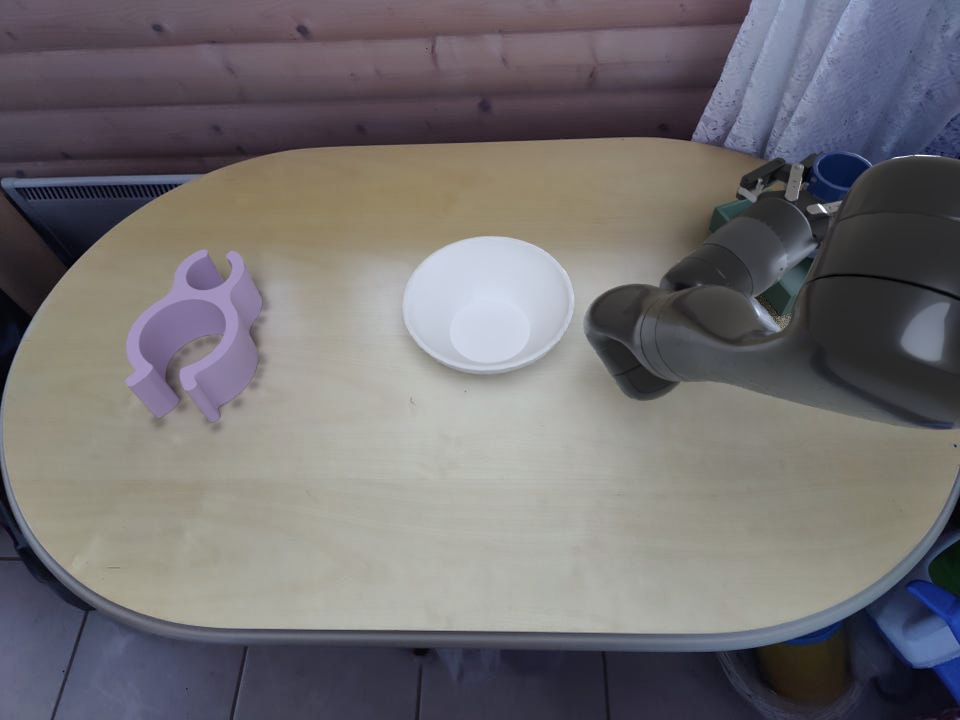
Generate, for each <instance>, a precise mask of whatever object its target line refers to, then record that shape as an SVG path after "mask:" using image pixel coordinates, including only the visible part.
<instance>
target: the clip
mask: <svg viewBox="0 0 960 720" xmlns="http://www.w3.org/2000/svg"><path fill="white" fill-rule="evenodd" d="M225 258H226V260H227V262H228V264H229V265H230V268H231V273H230V275H229V277H228V278H227V279H226V280H225V281H224V278H223V276H222V275H221V273H220V271H219V269H218V268H217V266H216V264H215V262H214V260H213V259H212V257H211V255H210V253H209V251H208V249H205V248H203V249H200V250H198V251H196V252H194V253H192V254H190V255H189V256H187V257H186V258H185V259H183V261H182V262H181V263H180V264H179V265H178V266H177V268H176V270H175V273H174V276H173V285H172V287H171V289H170V291H169V292H168V293H167V294H166V295H165V296H164V297H162V298H161V299H160V300H158V301H156V302H154V303H152V304H151V305H150V306H149V307H148V308H147V309H145V310H144V311H143V312H142V313H141V314H140V315H139V316H138V318H136V319H135V321H134V322H133V324H132V325H131V328H130V330H129V332H128V334H127V338H126V342H125V352H126V357H127V359H128V362H129V363H130V365H131V366H132V367H133V369H134V372H133V373H132V374H130V375H129V376H128V377H127V378H126V379H125V380H124V384H125V385H126V386H127V387H128V388H129V390H131V391H132V393H133V394H134V395H135V396H136V397H137V399H139V401H140V402H141V403H142V404H143V405H144V406H145V407H146V408H147V409H148V411H149V412H151V414H152V415H153V416H154V417H155V418H156V419H161V418H163V417H164V416H166V415H167V414H168V413H169V412H171V411H173V409H175V407H176V406H177V405H178V404H179V402H180V398H179V396H178V395H177V393H175V391H174V390H173V389H172V387H170V385H169V384H168V382H167V379H166V378H167V377H166V375H167V369H168V366H169V363H170V362H171V360H172V359H173V358H174V356H175V354H176V353H177V352H178V351H179V350H181V349H182V348H183V347H184V346H186V345H187V344H188V343H191V342H192V341H194V340H197V339H199V338H202V337H205V336H214V335H216V336H217V335H218V336H219V335H221V336H222V338H221V340H220V342H219V343H218V344H217V346H216V347H215V348H214V349H213V350H212V351H211V352H210V353H209V354H207V355H206V356H205V357H203V358H202V359H200V360H199V361H196V362H194V363H192V364H190V365H187V366H183V367H182V368H180V370H179V380H180V383H181V385H182V388H183V390H184V391H185V392H186V394H187V396H189V397H190V399H191V400H192V401H193V403H194V404H195V405H196V407H197V408H198V409H199V410H200V412H201V413H202V414H203V416H204V417H205V418H206V419H207V420H208V422H210V423H215V422H217V421H219V420H220V419H221V413H220V411H219V408H220V407H221V406H222V405H224V404H227V403H228V402H230V401H232V400H233V399H234V398H236V397H238V395H240V393H242V392H243V391H244V390H245V389H246V388H247V386H248V385H249V384H250V382H251V381H252V379H253V377H254V375H255V373H256V370H257V367H258V362H259V353H258V348H257V346H256V344H255V342H254V340H253V338H252V336H251V334H250V332H251V331H250V330H251V327H252V325H253V323H254V322H255V321H256V320H257V318H258V317H259V315H260V313H261V310H262V308H263V298H262V295H261V294H260V292H259V290H258V288H257V286H256V283H255V282H254V279H253V278H252V277H253V276H252V275H251V273H250V271H249V269H248V267H247V265H246V263H245V261H244V260H243V257H242V255H241V254H240V253H238V252H237V251H236V250H230V251H229V252H228V253H227V254H226V255H225Z"/></svg>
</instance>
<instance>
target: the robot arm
mask: <svg viewBox="0 0 960 720" xmlns="http://www.w3.org/2000/svg"><path fill="white" fill-rule="evenodd" d="M823 153H826V151H825V152H824V151H822V150H821V151H820V152H819V153H816V152H814V153H810V154H809V155H807V156H806V157H804V158H803V159H802V160H801V161H799V162H795V163H793V164H789V163H787V161H786V159H784V158H783V157H776V158H774V159H772V160H770V161H768V162H766V163H764V164H763V165H761V166H759V167H758V168H756V169H754V170H752V171H750V172H748V173H746V174H744V175H742V177H741V179H740V182H739V184H738V187H737V190H736V193H735V198H736V200H738V199H739V200H746V199H749V200H750V201H751V202H753V204H751V205H750V206H749V207H747V208H746V209H745V210H743V211H742V212H741V213H739V214H738V215H737V216H735V217H734V218H733V219H731V220H730V221H729V222H727V223H726V224H725V225H723V226H722V227H721V228H719V229H718V230H717V231H715V232H714V233H712V234H710V236H708V237H707V238H706V240H704V241H703V242H702V243H701V245H700V246H698V247H697V248H696V249H694V250H692V252H690V253H689V254H688V255H686V256H685V257H683V259H681V260H680V261H678V262H677V263H676V264H674V265H673V266H671V267H670V268H669V269H668V270H667V271H666V272H665V273H664V274H663V275H662V277H661V279H660V282H659V285H658V286H656V285H653V284H647V283H628V284H623V285H619V286H615V287H613V288H612V287H611V288H610V289H607V290H606V291H604V292H603V293H601V294H600V295H598V296H597V297H596V298H595V299H594V300H593V301H592V302H591V303H590V305H588V307H587V309H586V311H585V313H584V316H583V322H582V326H583V331H584V335H585V337H586V340H587V341H588V343H589V345H590V346H591V348H592V349H593V350H594V351H595V354H596V355H597V356H598V358H599V359H600V361H601V362H602V364H603V365H604V368H606V370H607V372H608V373H609V374H610V376H611V378H612V379H613V380H614V382H615V384H616V385H617V387H618V389H619V390H620V391H621V392H622V393H623V394H624V395H625V396H626V397H627V398H629V399H631V400H634V401H641V402H648V401H653V400H654V401H655V400H657V399H661V398H662V397H664V396H666V395H668V394H669V393H671V392H672V391H674V390H675V389H676V388H677V387H678V386H679V385H680V384H681V383H717V384H724V385H729V386H733V387H737V388H741V389H744V390H748V391H750V392H754V393H757V394H761V395H766V396H769V397H773V398H776V399H779V400H784V401H788V402H791V403H796V404H800V405H804V406H807V407H808V406H809V407H813V408H815V409H816V408H817V409H821V410H825V411H828V412H832V413H837V414H841V415H845V416H850V417H852V418H853V417H854V418H857V419H861V420H866V421H870V422H875V423H881V424H886V425H891V426H896V427H902V428H909V429H917V430H930V431H956V430H960V159H958V158H952V157H947V156H942V155H925V154H914V155H905V156H897V157H892V158H889V159H887V160H883V161H881V162H878V163H876V164H874V165H872V167H870V168H869V169H867V170H866V171H864V172H863V173H862V174H861V175H860V176H859V177H858V178H857V179H856V180H855V182H854V183H853V184H852V186H851V187H850V189H849V190H848V192H847V193H846V195H845V197H844V199H843V200H842V201H837V202H832V203H826V202H824V201H822V200H820V199H817V198H815V197H813V196H812V195H811V194H810V193H809V192H807V191H805V190H804V189H802V188H801V185H804V183H805V181H806V178H807V176H808V174H809V172H810V170H811V167H812V165H813V163H814V161H815V159H816V158H817V157H818V156H820V155H821V154H823ZM778 182H782V183H784V184H783V188H782V189H780V190H773V191H767V192H763V193H762V191H765V190H766V189H767V188H769V187H771V186H773V185H775V184H776V183H778ZM800 188H801V189H802V190H801V189H800ZM815 250H818V252H817V254H816V256H815V259H814V261H813V263H812V265H811V267H810V269H809V272H808V274H807V276H806V278H805V280H804V282H803V285H802V287H801V289H800V291H799V293H798V295H797V298H796V300H795V302H794V305H793V308H792V312H791V313H790V319H789V321H788V323H787V325H786V326H784V328H782V329H781V328H780V327H779V325H778V324H777V323H776V321H775V319H774V318H773V317H772V316H771V314H770V313H769V311H768V310H767V309H766V308H765V307H764V306H763V305H762V304H761V302H759V300H757V299H756V298H757V297H758V296H760V295H761V294H762V292H764V291H765V290H766V289H768V288H769V287H771V286H773V285H774V284H776V283H777V282H778V281H779V279H780V278H781V277H782V276H784V275H785V274H786V273H787V272H788V271H789V270H791V269H792V268H793V267H794V266H796V265H797V264H798V263H799V262H800V261H802V260H803V259H804V258H805V257H806V256H808V255H809V254H810V253H811V252H813V251H815Z"/></svg>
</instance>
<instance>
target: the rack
mask: <svg viewBox="0 0 960 720" xmlns="http://www.w3.org/2000/svg"><path fill="white" fill-rule="evenodd" d="M767 191H774V190H773V189H772V188H768V189H764V190H762V193H763V192H767ZM751 204H753V202H751V201H750V200H749V199H746V200H739V199H735V200H732V201H728V202H726V203H723V204H720V205H717V206H714V208H713V212H712V215H711V218H710V221H709V224H708V230H709V231H710V232H711V233H712V234H713V233H714V232H715V231H717V230H718V229H719V228H721V227H722V226H723V225H725V224H726V223H727V222H729V221H730V220H731V219H733V218H734V217H735V216H737V215H738V214H739V213H741V212H742V211H743V210H745V209H746V208H747V207H749V206H750V205H751ZM814 259H815V258H809V257H805V258H804V259H803V260H802V261H800V262H799V263H798V264H797V265H796V266H794V267H793V268H792V269H791V270H789V271H788V272H787V273H786V274H785V275H784V276H782V277H781V278H780V279H779V281H778V282H777V283H776V284H774V285H773V286H771V287H769V288H768V289H766V290H765V291H764V292H762V293H761V294H762V296H763V297H764V298H765V299H766V300H767V302H768V303H769V304H770V305H771V307H772V308H773V309H774V310H775V311H776V312H777V313H778V315H779V316H780V317H782V316H783V317H784V316H786V315H789V314H791V312H792V308H793V305H794V302H795V300H796V298H797V295H798V293H799V291H800V289H801V287H802V285H803V282H804V280H805V278H806V276H807V274H808V272H809V269H810V267H811V265H812V263H813V261H814Z"/></svg>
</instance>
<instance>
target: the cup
mask: <svg viewBox="0 0 960 720" xmlns="http://www.w3.org/2000/svg"><path fill="white" fill-rule="evenodd" d="M872 166H873V165H872V164H871V163H870V162H869V160H867V159H865V158H864V157H862V156H861V155H859V154H856V153H853V152H849V151H844V150H832V151H827V152H826V151H825V153H823V154H821V155H820V156H818V157H817V158H816V159H815V161H814V163H813V165H812V167H811V170H810V172H809V174H808V176H807V178H806V181H805V182H804V183H803V184H802V188H801V189H800V190H802V189H804V190H805V191H807V192H809V193H810V194H811V195H812V196H813V197H815V198H817V199H820V200H822V201H824V202H826V203H832V202H837V201H842V200H843V199H844V197H845V195H846V193H847V192H848V190H849V189H850V187H851V186H852V184H853V183H854V182H855V180H856V179H857V178H858V177H859V176H860V175H861V174H862V173H863V172H864V171H866V170H867V169H869V168H870V167H872ZM817 252H818V250H815V251H813V252H811V253H810V254H809V255H808V256H806V257H809V258H815V256H816V254H817Z"/></svg>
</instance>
